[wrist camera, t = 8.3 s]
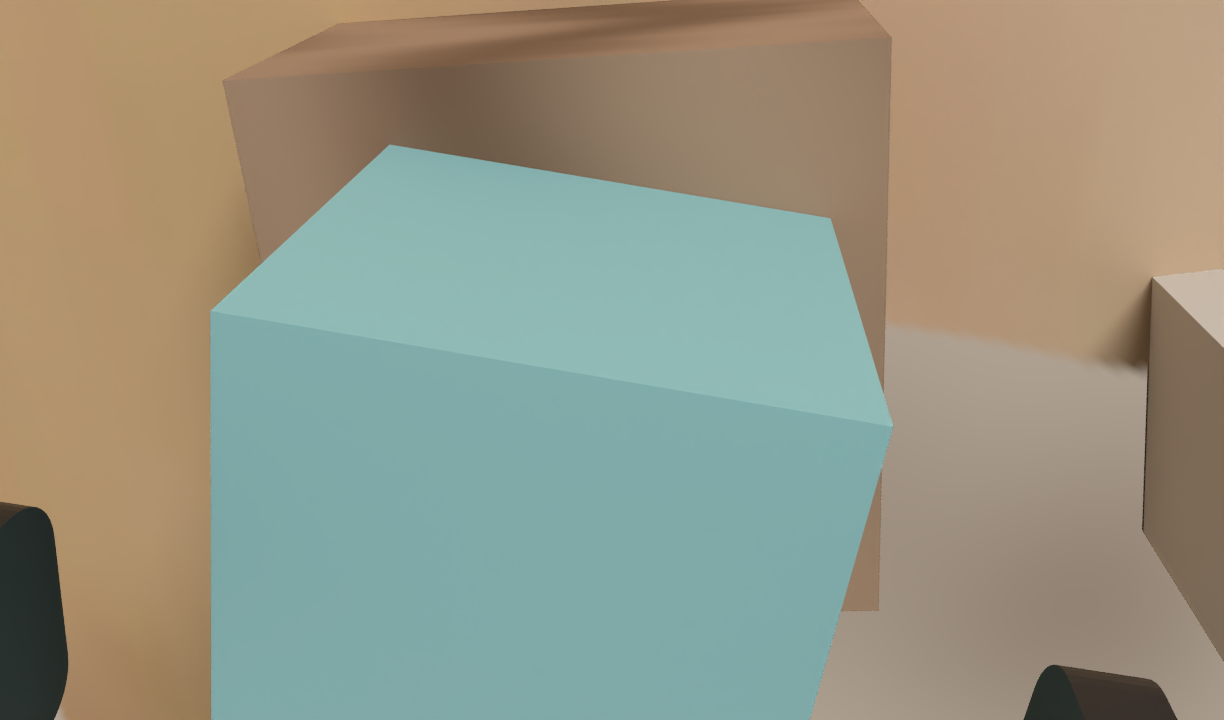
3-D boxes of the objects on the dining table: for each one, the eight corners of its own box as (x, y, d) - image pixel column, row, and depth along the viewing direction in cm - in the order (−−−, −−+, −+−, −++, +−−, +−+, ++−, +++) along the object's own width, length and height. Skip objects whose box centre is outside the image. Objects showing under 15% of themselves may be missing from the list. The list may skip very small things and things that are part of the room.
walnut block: (845, -14, 18) (892, 37, 13) (842, 443, 21) (879, 610, 16) (343, 22, 18) (222, 80, 14) (415, 455, 22) (337, 618, 17)
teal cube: (830, 218, 14) (893, 427, 9) (743, 583, 16) (755, 909, 11) (388, 144, 14) (211, 311, 9) (365, 518, 16) (211, 814, 11)
